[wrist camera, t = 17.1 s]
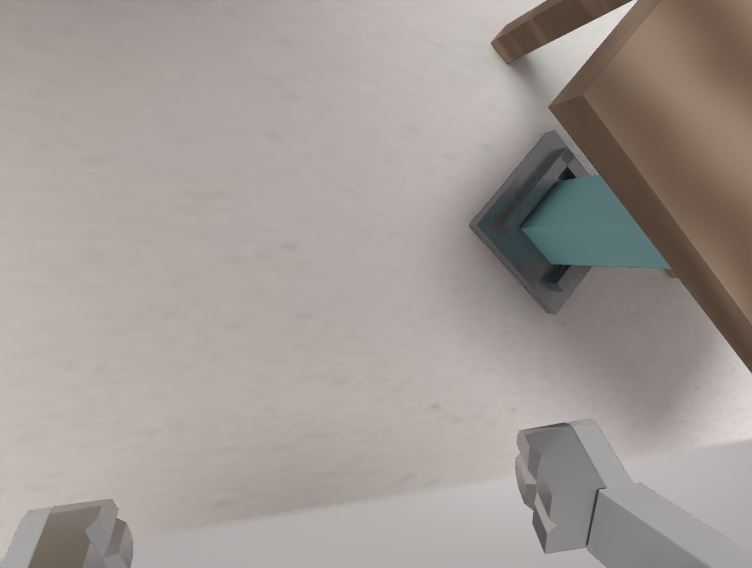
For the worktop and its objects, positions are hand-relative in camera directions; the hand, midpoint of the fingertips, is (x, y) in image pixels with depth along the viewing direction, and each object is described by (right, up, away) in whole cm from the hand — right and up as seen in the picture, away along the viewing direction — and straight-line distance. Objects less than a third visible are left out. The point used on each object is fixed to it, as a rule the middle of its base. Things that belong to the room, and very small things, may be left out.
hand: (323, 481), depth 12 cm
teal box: (+15, +9, +33) cm, 37 cm away
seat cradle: (+15, +9, +34) cm, 38 cm away
